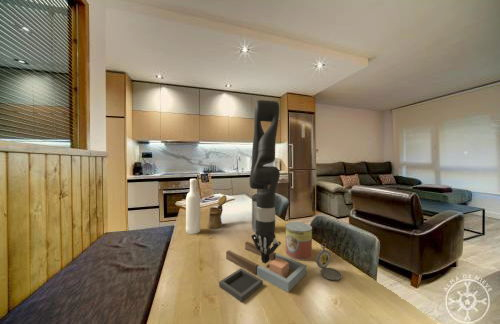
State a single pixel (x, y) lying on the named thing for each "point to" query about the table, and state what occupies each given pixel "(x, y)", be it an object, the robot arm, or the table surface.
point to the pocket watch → (327, 272)
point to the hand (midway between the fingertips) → (265, 262)
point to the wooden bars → (245, 262)
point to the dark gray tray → (241, 284)
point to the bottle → (193, 209)
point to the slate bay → (281, 281)
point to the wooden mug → (216, 214)
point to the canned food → (298, 240)
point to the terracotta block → (279, 267)
